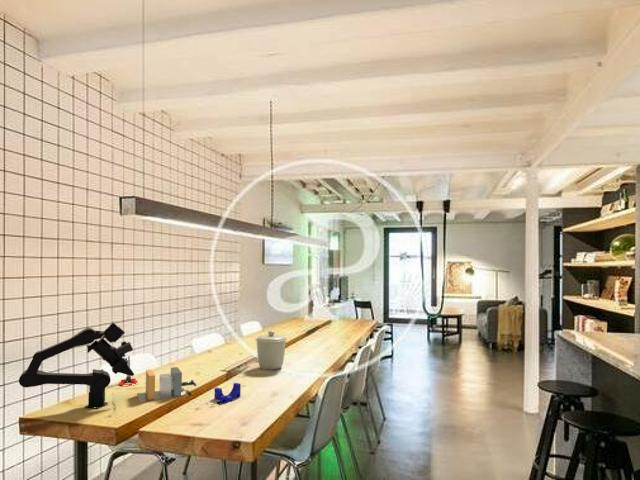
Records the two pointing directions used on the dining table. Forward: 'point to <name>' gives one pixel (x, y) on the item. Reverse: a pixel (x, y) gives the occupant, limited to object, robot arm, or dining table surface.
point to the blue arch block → (232, 395)
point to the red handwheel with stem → (128, 377)
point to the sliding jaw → (150, 384)
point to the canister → (271, 350)
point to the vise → (175, 386)
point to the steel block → (165, 385)
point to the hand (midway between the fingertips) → (133, 375)
